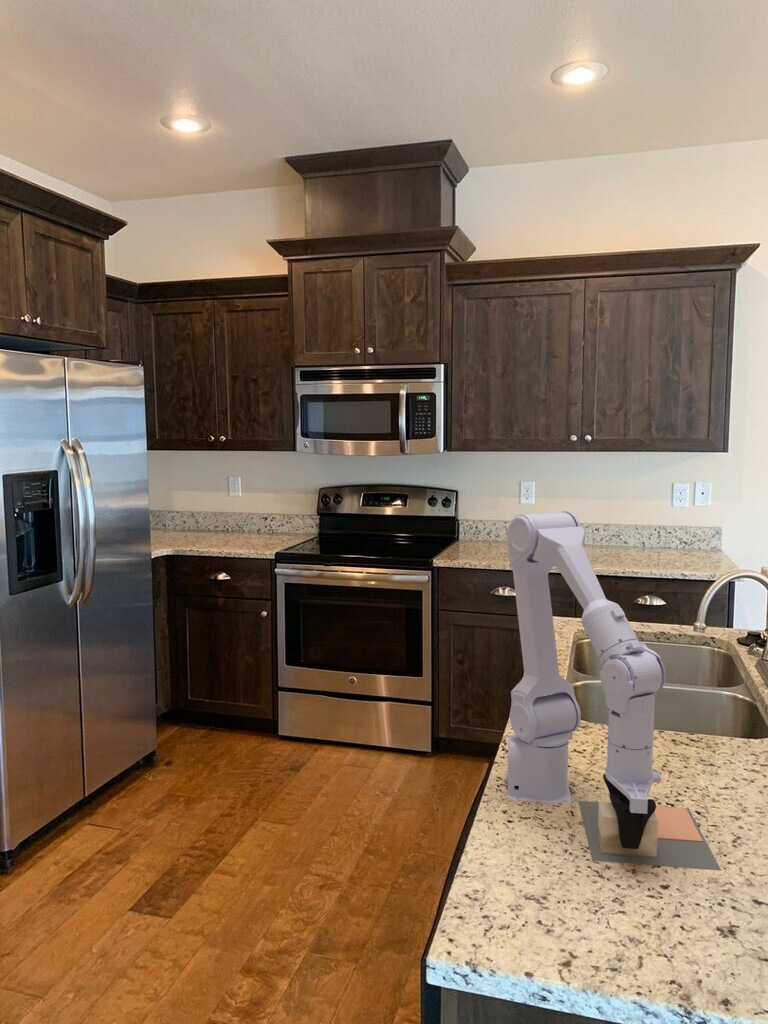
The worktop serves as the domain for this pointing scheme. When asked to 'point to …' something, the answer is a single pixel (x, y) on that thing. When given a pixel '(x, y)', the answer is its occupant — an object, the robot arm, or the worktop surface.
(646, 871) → the worktop surface
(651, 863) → the rubber mat
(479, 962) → the worktop surface
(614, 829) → the birch block
